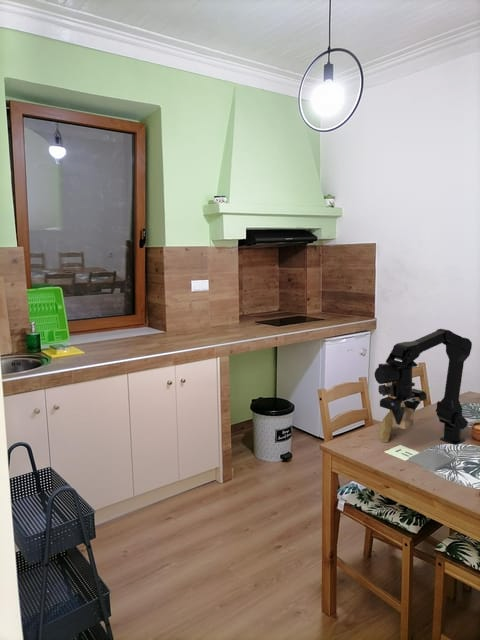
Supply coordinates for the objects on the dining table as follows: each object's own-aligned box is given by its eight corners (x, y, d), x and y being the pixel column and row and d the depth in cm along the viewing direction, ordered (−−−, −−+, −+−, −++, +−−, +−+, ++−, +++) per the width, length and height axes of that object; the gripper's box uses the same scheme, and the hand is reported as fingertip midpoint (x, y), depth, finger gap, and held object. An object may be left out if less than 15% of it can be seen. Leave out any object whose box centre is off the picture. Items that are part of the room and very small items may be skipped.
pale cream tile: (400, 445, 170) (400, 444, 170) (421, 453, 163) (421, 453, 163) (384, 451, 165) (384, 451, 165) (405, 460, 158) (405, 460, 158)
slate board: (427, 451, 164) (427, 449, 164) (454, 461, 156) (454, 458, 155) (408, 460, 158) (408, 457, 158) (434, 471, 150) (435, 468, 149)
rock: (393, 440, 169) (406, 428, 176) (379, 420, 171) (392, 409, 178) (373, 449, 177) (386, 438, 183) (360, 430, 179) (373, 419, 185)
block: (401, 421, 166) (401, 405, 165) (413, 425, 162) (413, 409, 161) (392, 425, 163) (392, 408, 162) (404, 429, 159) (404, 412, 158)
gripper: (400, 370, 171) (400, 410, 174) (367, 380, 161) (367, 422, 164) (427, 376, 162) (426, 418, 165) (393, 387, 152) (393, 431, 154)
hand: (403, 422), depth 162 cm, fingers closed on block, 5 cm apart
